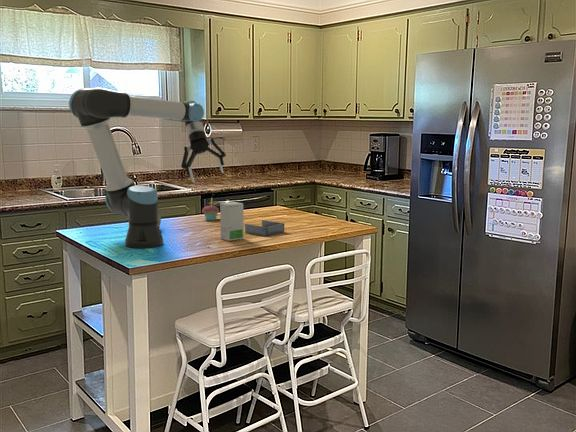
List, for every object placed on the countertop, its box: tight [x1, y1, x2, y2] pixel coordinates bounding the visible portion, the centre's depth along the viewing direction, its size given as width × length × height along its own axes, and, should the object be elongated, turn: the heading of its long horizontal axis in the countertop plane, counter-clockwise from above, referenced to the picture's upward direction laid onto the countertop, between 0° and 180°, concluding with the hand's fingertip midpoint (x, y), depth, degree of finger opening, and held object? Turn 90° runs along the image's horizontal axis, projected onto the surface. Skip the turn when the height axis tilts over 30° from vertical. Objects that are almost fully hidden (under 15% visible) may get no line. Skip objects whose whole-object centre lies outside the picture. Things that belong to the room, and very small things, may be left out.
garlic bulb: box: [158, 212, 162, 229], centre depth 263 cm, size 9×8×10 cm
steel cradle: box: [244, 219, 285, 237], centre depth 258 cm, size 13×13×4 cm
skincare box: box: [219, 201, 244, 242], centre depth 243 cm, size 8×7×16 cm
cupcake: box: [201, 197, 220, 221], centre depth 287 cm, size 9×8×12 cm
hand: (207, 177), depth 251 cm, fingers open, 13 cm apart
